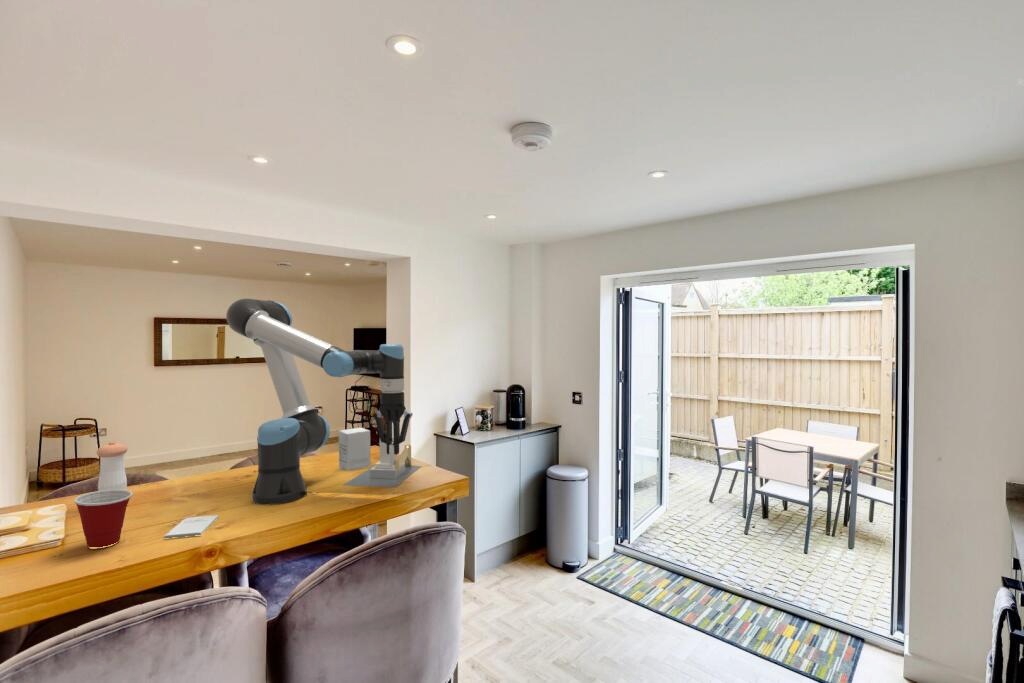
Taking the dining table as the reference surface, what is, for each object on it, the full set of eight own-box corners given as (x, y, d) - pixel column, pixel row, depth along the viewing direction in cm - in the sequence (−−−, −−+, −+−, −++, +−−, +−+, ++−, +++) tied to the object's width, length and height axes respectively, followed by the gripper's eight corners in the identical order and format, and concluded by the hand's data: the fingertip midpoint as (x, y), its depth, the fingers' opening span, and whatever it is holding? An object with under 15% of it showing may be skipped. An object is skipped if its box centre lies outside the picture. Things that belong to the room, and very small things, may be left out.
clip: (393, 485, 157) (393, 461, 157) (405, 464, 183) (405, 444, 182) (400, 484, 158) (400, 461, 157) (411, 464, 183) (411, 444, 183)
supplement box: (361, 465, 189) (361, 427, 189) (371, 470, 182) (371, 430, 182) (338, 470, 183) (337, 429, 183) (347, 475, 176) (346, 433, 176)
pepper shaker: (116, 510, 141) (116, 443, 141) (90, 511, 141) (89, 444, 141) (134, 501, 148) (133, 438, 148) (109, 502, 148) (108, 439, 148)
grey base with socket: (342, 489, 159) (342, 476, 159) (376, 468, 184) (375, 456, 184) (395, 492, 156) (395, 477, 156) (422, 470, 182) (422, 458, 182)
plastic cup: (112, 553, 112) (111, 501, 112) (61, 555, 111) (61, 503, 111) (144, 534, 123) (143, 487, 123) (98, 536, 122) (97, 488, 122)
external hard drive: (163, 542, 120) (184, 523, 132) (201, 538, 122) (218, 520, 134) (163, 535, 120) (184, 517, 132) (200, 532, 122) (218, 514, 134)
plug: (375, 477, 167) (374, 439, 167) (382, 472, 174) (382, 435, 174) (392, 478, 166) (392, 439, 166) (399, 472, 173) (399, 435, 173)
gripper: (368, 392, 156) (369, 466, 157) (407, 393, 154) (408, 467, 155) (378, 390, 164) (378, 460, 164) (415, 390, 162) (416, 461, 162)
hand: (393, 464), depth 159 cm, fingers closed
